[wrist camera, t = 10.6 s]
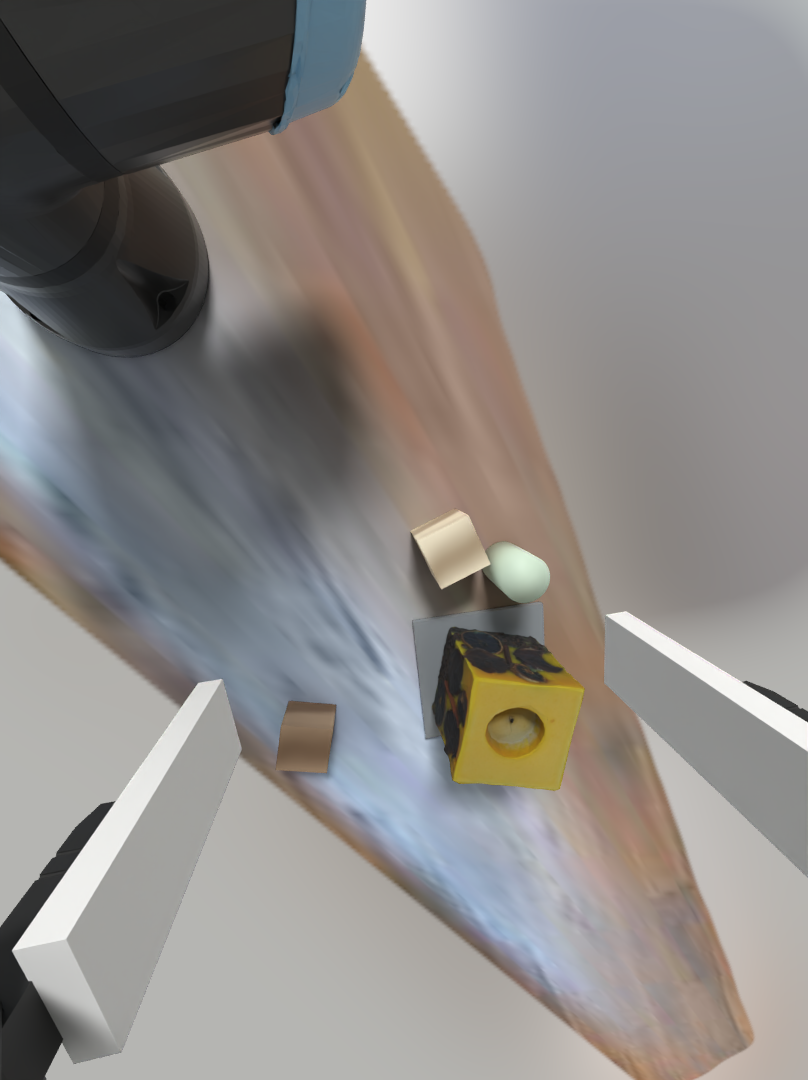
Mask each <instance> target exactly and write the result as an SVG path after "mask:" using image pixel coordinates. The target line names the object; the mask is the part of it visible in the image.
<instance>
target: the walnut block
mask: <svg viewBox="0 0 808 1080" xmlns="http://www.w3.org/2000/svg"><path fill="white" fill-rule="evenodd" d="M335 711H336V705H333V704H322V703H310V702H298V701H289V702H288V705H287V708H286V712H285V715H284V718H283V721H282V724H281V730H280V738H279V747H278V755H277V763H276V770H283V771H300V772H316V773H327V768H328V761H329V754H330V748H331V741H332V734H333V727H334V719H335Z"/></svg>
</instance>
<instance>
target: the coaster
mask: <svg viewBox="0 0 808 1080" xmlns="http://www.w3.org/2000/svg"><path fill="white" fill-rule="evenodd" d="M451 627H458V628H464V629H468V630H473V629H476V630H479V631H487V632H504V633H505V634H510V635H520V636H525V637H529V636H532V637H533V638H535V639H537V641H538V642H539V643H540V644H541V645H544V618H543V603H542V602H535V603H528V604H521V605H514V606H507V607H500V608H493V609H486V610H480V611H473V612H466V613H459V614H452V615H445V616H438V617H431V618H425V619H418V620H413V629H414V638H415V647H416V656H417V665H418V674H419V683H420V692H421V701H422V710H423V719H424V728H425V736H426V738H432V737H438V736H441V734H440V731H439V729H438V727H437V725H436V723H435V715H434V714H433V710H432V704H433V702H434V700H435V694H436V689H437V685H438V680H439V678H438V676H439V673H440V667H441V665H442V664H441V662H442V656H443V655H444V645H445V644H446V638H447V634H448V631H449V629H450V628H451Z"/></svg>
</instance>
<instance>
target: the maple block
mask: <svg viewBox="0 0 808 1080" xmlns="http://www.w3.org/2000/svg"><path fill="white" fill-rule="evenodd" d="M411 533H412V535H413V537H414V539H415V541H416V543H417V545H418V547H419V549H420V551H421V553H422V555H423V557H424V559H425V561H426V563H427V565H428V567H429V569H430V571H431V573H432V575H433V576H434V578H435V580H436V581H437V583H438V585H439V586H440V588H441V589H443V588H445V587H447V586H449V585H451V584H453V583H455V582H457V581H459V580H461V579H463V578H465V577H467V576H469V575H471V574H472V573H474V572H476V571H478V570H480V569H482V568H484V567H486V566H488V565H490V561H489V559H488V557H487V555H486V553H485V551H484V548H483V546H482V544H481V542H480V540H479V537H478V535H477V533H476V531H475V529H474V527H473V524H472V522H471V520H470V518H469V516H468V515H467V514H465V513H463V512H461V511H459V510H457V509H453V510H451V511H449V512H447V513H445V514H443V515H441V516H439V517H437V518H435V519H433V520H431V521H429V522H427V523H425V524H424V525H422V526H420V527H418V528H416V529H414V530H412V531H411Z"/></svg>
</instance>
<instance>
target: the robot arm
mask: <svg viewBox="0 0 808 1080" xmlns="http://www.w3.org/2000/svg"><path fill="white" fill-rule="evenodd" d="M365 9H366V0H0V290H1V291H2V292H4V293H6V295H7V296H8V297H9V298H10V299H11V300H12V301H13V302H14V303H15V304H16V305H17V306H18V307H19V308H20V309H21V310H22V311H23V312H24V313H25V314H26V315H27V316H29V317H30V318H31V319H32V320H33V321H35V322H36V323H37V324H39V325H40V326H42V327H43V328H45V329H46V330H48V331H50V332H51V333H53V334H55V335H56V336H58V337H60V338H62V339H64V340H66V341H69V342H71V343H74V344H76V345H78V346H81V347H83V348H86V349H88V350H91V351H94V352H97V353H101V354H105V355H110V356H118V357H135V356H142V355H147V354H151V353H154V352H157V351H159V350H161V349H164V348H166V347H167V346H169V345H171V344H172V343H174V342H175V341H176V340H178V339H179V338H180V337H181V336H182V335H183V334H184V333H185V332H186V331H187V330H188V329H189V328H190V327H191V325H192V324H193V322H194V321H195V319H196V317H197V316H198V314H199V312H200V310H201V307H202V305H203V302H204V299H205V295H206V290H207V284H208V257H207V251H206V246H205V241H204V238H203V235H202V232H201V229H200V226H199V224H198V222H197V219H196V217H195V215H194V213H193V211H192V210H191V208H190V206H189V205H188V203H187V202H186V200H185V199H184V197H183V196H182V194H181V193H180V191H179V190H178V188H177V187H176V186H175V184H174V183H173V181H172V180H171V178H170V177H169V176H168V175H167V173H166V172H165V171H164V170H163V169H162V167H161V166H160V164H164V163H167V162H170V161H173V160H177V159H180V158H183V157H187V156H190V155H193V154H196V153H200V152H203V151H206V150H209V149H213V148H216V147H219V146H223V145H226V144H229V143H232V142H236V141H239V140H242V139H245V138H249V137H252V136H255V135H258V134H262V133H265V132H269V133H270V134H271V135H275V134H278V133H281V132H283V131H284V130H285V129H286V128H287V126H288V124H289V123H290V122H293V121H295V120H298V119H300V118H303V117H305V116H308V115H310V114H313V113H316V112H318V111H321V110H323V109H326V108H328V107H331V106H332V105H334V104H335V103H336V102H338V101H339V100H340V99H341V98H342V96H343V95H344V94H345V92H346V90H347V88H348V86H349V84H350V82H351V80H352V77H353V74H354V70H355V68H356V66H357V62H358V58H359V55H360V50H361V44H362V37H363V30H364V21H365ZM604 683H605V684H606V685H607V686H608V687H609V688H610V689H611V690H612V691H613V692H614V693H615V694H616V695H617V696H619V697H620V698H621V699H622V700H623V701H624V702H625V703H626V704H627V705H628V706H629V707H630V708H631V709H632V710H633V711H634V712H635V713H636V714H637V715H638V716H639V717H640V718H641V719H643V720H644V721H645V722H646V723H647V724H648V725H649V726H650V727H651V728H652V729H653V730H654V731H655V732H656V733H657V734H658V735H659V736H660V737H661V738H662V739H663V740H664V741H665V742H667V743H668V744H669V745H670V746H671V747H672V748H673V749H674V750H675V751H676V752H677V753H678V754H679V755H680V756H681V757H682V758H683V759H684V760H685V761H686V762H687V763H688V764H690V765H691V766H692V767H693V768H694V769H695V770H696V771H697V772H698V773H699V774H700V775H701V776H702V777H703V778H704V779H705V780H706V781H707V782H708V783H709V784H711V786H713V787H714V788H715V789H716V790H717V791H718V792H719V793H720V794H721V795H722V796H723V797H724V798H725V799H726V800H727V801H728V802H729V803H730V804H731V805H732V806H733V807H734V808H735V809H737V810H738V811H739V812H740V813H741V814H742V815H743V816H744V817H745V818H746V819H747V820H748V821H749V822H750V823H751V824H752V825H753V826H754V827H755V828H756V829H758V831H760V832H761V833H762V834H763V835H764V836H765V837H766V838H767V839H768V840H769V841H770V842H771V843H772V844H773V845H774V846H775V847H776V848H777V849H778V850H779V851H780V852H781V853H782V854H784V855H785V856H786V857H787V858H788V859H789V860H790V861H791V862H792V863H793V864H794V865H795V866H796V867H797V868H798V869H799V870H800V871H801V872H802V873H803V874H805V876H806V877H808V711H806V710H804V709H803V708H802V709H799V708H798V705H796V704H794V703H792V702H791V701H789V700H787V699H785V698H784V697H782V696H780V695H779V694H777V693H775V692H773V691H771V690H768V689H766V688H763V687H760V686H758V685H755V684H753V683H750V682H748V681H744V682H741V681H739V680H737V679H736V678H734V677H732V676H731V675H729V674H727V673H726V672H724V671H723V670H721V669H719V668H718V667H716V666H714V665H713V664H711V663H709V662H708V661H706V660H705V659H703V658H701V657H700V656H698V655H696V654H695V653H693V652H691V651H690V650H688V649H686V648H685V647H683V646H681V645H680V644H678V643H677V642H675V641H673V640H672V639H670V638H669V637H667V636H665V635H664V634H662V633H660V632H659V631H657V630H655V629H654V628H652V627H650V626H649V625H647V624H646V623H644V622H642V621H641V620H639V619H637V618H636V617H634V616H632V615H631V614H629V613H627V612H620V613H614V614H608V615H605V672H604ZM241 750H242V748H241V744H240V741H239V737H238V733H237V730H236V726H235V722H234V719H233V715H232V711H231V708H230V704H229V700H228V697H227V693H226V689H225V686H224V682H223V679H219V680H213V681H207V682H201V683H198V684H197V685H196V687H195V688H194V690H193V691H192V693H191V694H190V695H189V697H188V698H187V700H186V701H185V703H184V704H183V705H182V707H181V708H180V710H179V711H178V713H177V714H176V716H175V717H174V719H173V720H172V721H171V723H170V724H169V726H168V727H167V729H166V730H165V732H164V733H163V735H162V736H161V737H160V739H159V740H158V741H157V743H156V744H155V746H154V747H153V749H152V750H151V751H150V753H149V755H148V756H147V757H146V759H145V760H144V762H143V763H142V764H141V766H140V767H139V769H138V770H137V772H136V773H135V775H134V776H133V777H132V779H131V780H130V782H129V783H128V785H127V786H126V787H125V789H124V790H123V792H122V793H121V795H120V796H119V798H118V799H117V801H114V802H109V803H104V804H100V805H99V806H98V807H97V808H96V809H95V810H94V811H93V812H92V813H91V814H90V815H88V816H87V817H86V818H85V819H84V820H83V821H82V822H81V823H80V824H79V825H78V826H77V827H75V829H74V830H73V831H72V833H71V834H70V835H69V837H68V838H67V840H66V841H65V842H64V843H63V845H62V846H61V848H60V849H59V850H58V851H57V854H56V857H55V858H52V859H51V861H50V862H49V863H48V865H47V866H46V867H45V869H44V870H43V871H42V873H41V874H40V878H39V880H36V881H35V882H34V883H33V884H32V886H31V887H30V888H29V890H28V891H27V892H26V894H25V895H24V896H23V898H22V899H21V900H20V902H19V903H18V904H17V906H16V907H15V908H14V910H13V911H12V912H11V914H10V915H9V916H8V918H7V919H6V920H5V921H4V923H3V924H2V925H1V927H0V1080H46V1077H45V1075H46V1073H47V1070H48V1069H49V1066H50V1065H51V1063H52V1061H53V1059H54V1057H55V1055H56V1053H57V1051H58V1049H59V1047H60V1045H61V1043H63V1045H64V1047H65V1049H66V1051H67V1053H68V1054H69V1056H70V1058H71V1060H72V1061H73V1063H74V1064H76V1063H80V1062H84V1061H88V1060H92V1059H96V1058H100V1057H105V1056H109V1055H113V1054H117V1053H121V1052H122V1050H123V1047H124V1045H125V1042H126V1040H127V1037H128V1035H129V1032H130V1030H131V1027H132V1025H133V1022H134V1019H135V1017H136V1015H137V1012H138V1009H139V1007H140V1005H141V1002H142V999H143V997H144V994H145V992H146V989H147V987H148V984H149V982H150V979H151V977H152V974H153V972H154V969H155V966H156V964H157V962H158V959H159V957H160V954H161V952H162V949H163V946H164V944H165V941H166V939H167V936H168V934H169V931H170V929H171V926H172V924H173V921H174V919H175V916H176V914H177V911H178V909H179V906H180V904H181V901H182V898H183V896H184V894H185V891H186V888H187V886H188V883H189V881H190V878H191V876H192V873H193V871H194V868H195V866H196V863H197V861H198V858H199V856H200V853H201V851H202V848H203V846H204V843H205V840H206V838H207V835H208V832H209V830H210V828H211V825H212V823H213V820H214V818H215V815H216V813H217V810H218V808H219V805H220V803H221V800H222V798H223V795H224V793H225V790H226V788H227V785H228V783H229V780H230V778H231V775H232V773H233V770H234V768H235V765H236V762H237V760H238V757H239V755H240V752H241Z"/></svg>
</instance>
